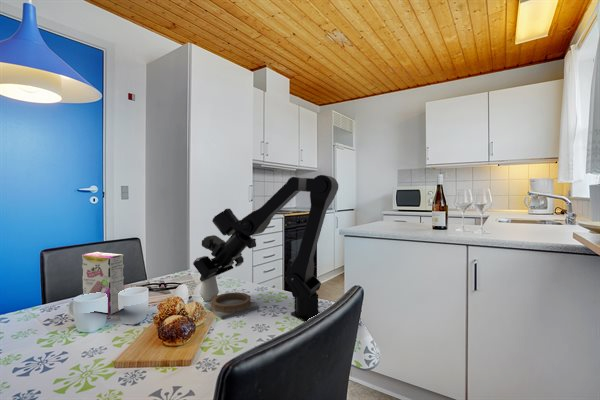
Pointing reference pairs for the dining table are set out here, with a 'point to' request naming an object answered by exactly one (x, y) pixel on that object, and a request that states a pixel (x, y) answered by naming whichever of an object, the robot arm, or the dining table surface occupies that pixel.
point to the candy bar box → (104, 276)
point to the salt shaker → (209, 289)
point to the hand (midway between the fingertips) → (205, 278)
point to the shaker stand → (231, 304)
